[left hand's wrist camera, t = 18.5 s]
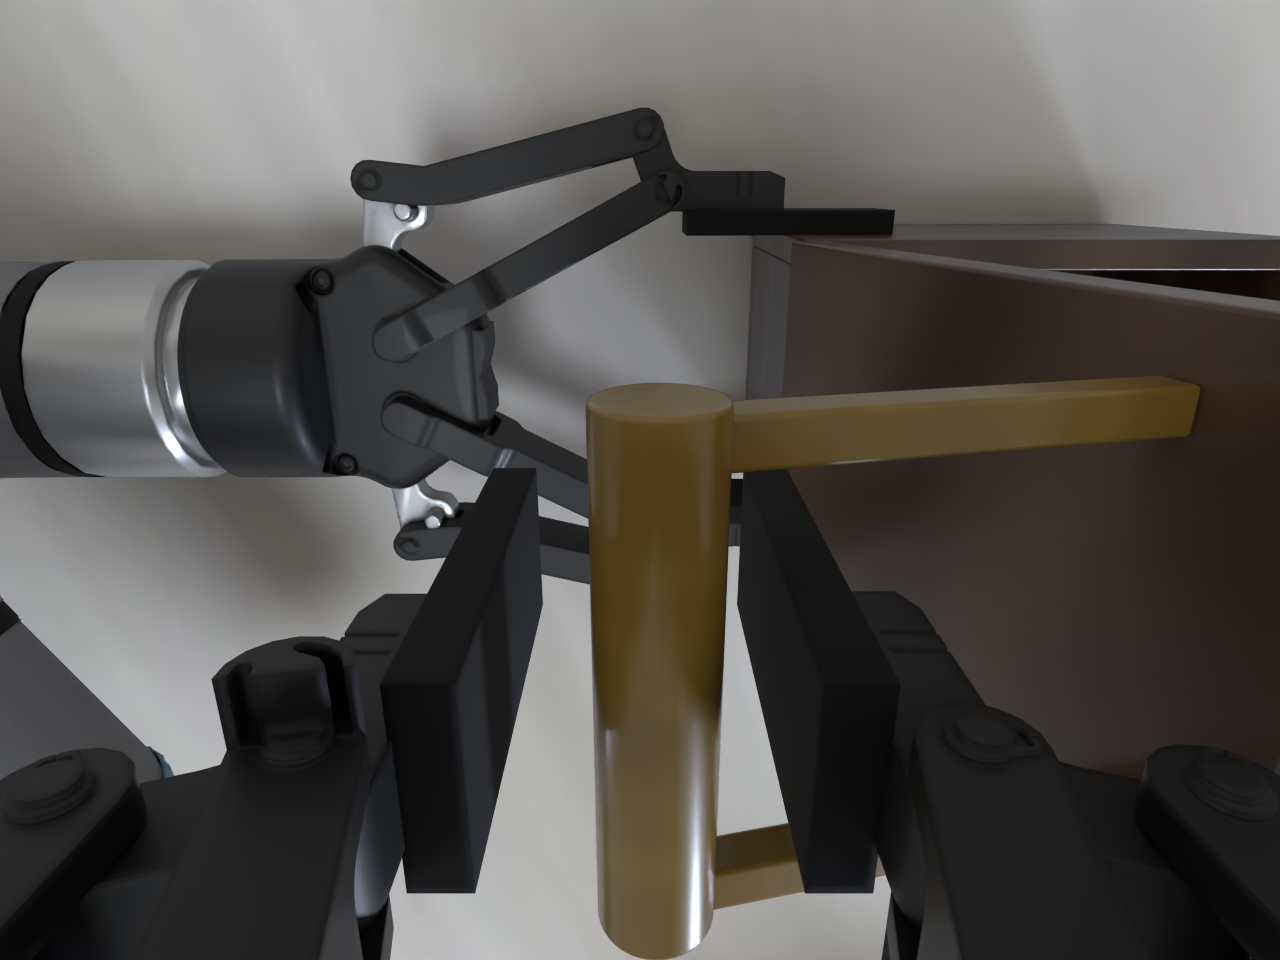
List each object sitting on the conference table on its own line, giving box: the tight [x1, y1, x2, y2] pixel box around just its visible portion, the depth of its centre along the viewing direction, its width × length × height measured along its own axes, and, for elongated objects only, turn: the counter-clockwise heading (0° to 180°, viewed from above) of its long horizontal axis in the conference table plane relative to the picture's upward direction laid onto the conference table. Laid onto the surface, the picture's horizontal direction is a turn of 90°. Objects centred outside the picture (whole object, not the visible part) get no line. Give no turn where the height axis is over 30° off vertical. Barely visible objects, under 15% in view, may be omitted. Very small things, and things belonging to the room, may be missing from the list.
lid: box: [586, 241, 1280, 960], centre depth 16 cm, size 15×9×9 cm
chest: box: [746, 224, 1280, 400], centre depth 29 cm, size 15×9×11 cm, turn 90°
